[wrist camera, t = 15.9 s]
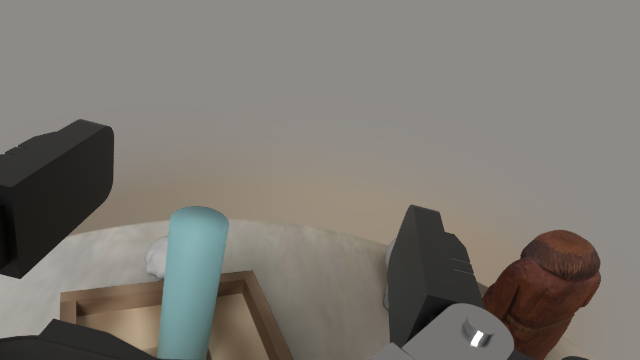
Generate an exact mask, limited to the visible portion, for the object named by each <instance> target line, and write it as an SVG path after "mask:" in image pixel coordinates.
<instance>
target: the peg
mask: <svg viewBox="0 0 640 360" xmlns="http://www.w3.org/2000/svg"><path fill="white" fill-rule="evenodd" d="M228 227H229V222H228V220H227V218H226V217H225V216H224V215H223V214H222V213H220V212H218V211H216V210H214V209H211V208H207V207H201V206H191V207H185V208H182V209H180V210H178V211H176V212H175V213H173V215H172V216H171V218H170V224H169V235H168V245H167V256H166V266H165V276H164V287H163V297H162V308H161V318H160V329H159V339H158V349H157V358H160V359H181V360H206V357H207V351H208V345H209V339H210V334H211V328H212V322H213V316H214V310H215V304H216V298H217V292H218V286H219V280H220V274H221V268H222V263H223V257H224V251H225V245H226V239H227V233H228Z"/></svg>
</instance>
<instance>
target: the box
mask: <svg viewBox="0 0 640 360" xmlns="http://www.w3.org/2000/svg"><path fill="white" fill-rule="evenodd" d="M163 287H164V281H157V282H148V283H139V284H131V285H122V286H114V287H105V288H96V289H88V290H79V291H71V292H62V293H61V298H60V320H61V321H65V322H69V323H73V324H77V325H81V326H85V327H89V328H93V329H97V330H101V331H105V332H108V333H110V334H112V335H114V336H116V337H118V338H120V339H121V340H123V341H125V342H127V343H129V344H131V345H133V346H135V347H136V348H138V349H140V350H142V351H144V352H146V353H148V354H150V355H151V356H154V357H156V358H157V349H158V339H159V329H160V318H161V308H162V297H163ZM206 360H293V358H292V356H291V353H290V351H289V349H288V347H287V345H286V343H285V340H284V338H283V336H282V334H281V332H280V329H279V327H278V325H277V323H276V321H275V319H274V316H273V314H272V312H271V310H270V308H269V305H268V303H267V301H266V299H265V297H264V295H263V292H262V290H261V288H260V286H259V284H258V281H257V279H256V277H255V275H254V273H253V271H252V270H251V271H242V272H234V273H225V274H220V280H219V286H218V292H217V298H216V304H215V310H214V316H213V322H212V328H211V334H210V339H209V345H208V351H207V357H206Z"/></svg>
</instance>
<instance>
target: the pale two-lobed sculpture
mask: <svg viewBox="0 0 640 360" xmlns="http://www.w3.org/2000/svg"><path fill="white" fill-rule="evenodd" d="M167 245H168V236H165V237H162V238H159V239H158V240H156V241H155V242H153V243H152V244H151V245H150V246H149V247H148V249H147V251H146V254H145V261H146V272H147V273H149V274H153V275H156V276H157V277H158V278H159V279H164V276H165V266H166V256H167Z"/></svg>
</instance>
